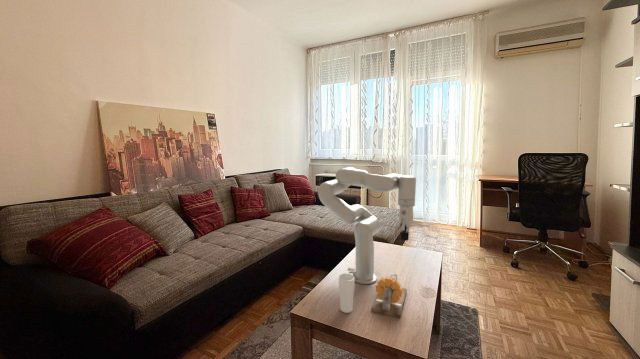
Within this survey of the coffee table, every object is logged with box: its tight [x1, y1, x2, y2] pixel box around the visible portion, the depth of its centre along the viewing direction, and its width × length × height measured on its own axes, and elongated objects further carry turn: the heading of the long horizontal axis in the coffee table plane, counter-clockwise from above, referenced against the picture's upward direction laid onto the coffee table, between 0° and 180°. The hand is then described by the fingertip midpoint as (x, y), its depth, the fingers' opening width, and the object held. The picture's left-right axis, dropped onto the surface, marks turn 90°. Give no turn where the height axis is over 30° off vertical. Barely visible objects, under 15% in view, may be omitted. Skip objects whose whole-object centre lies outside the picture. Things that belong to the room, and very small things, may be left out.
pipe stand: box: [370, 272, 407, 319], centre depth 125 cm, size 12×22×9 cm, turn 156°
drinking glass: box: [338, 273, 356, 314], centre depth 119 cm, size 7×7×15 cm
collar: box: [375, 276, 403, 304], centre depth 121 cm, size 11×2×11 cm, turn 66°
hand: (404, 239), depth 132 cm, fingers closed
